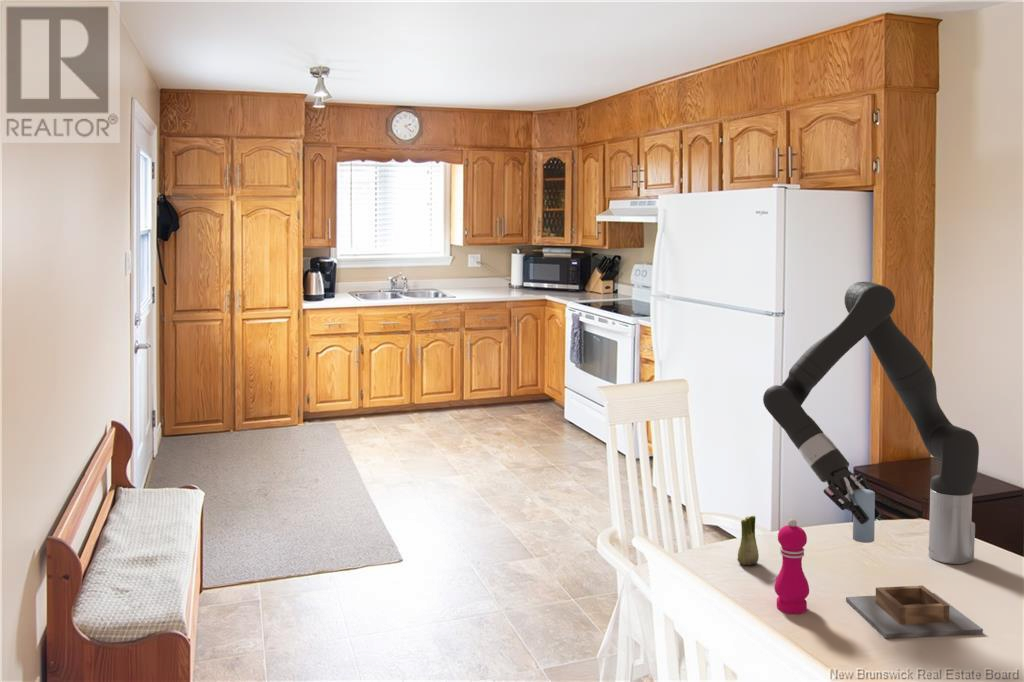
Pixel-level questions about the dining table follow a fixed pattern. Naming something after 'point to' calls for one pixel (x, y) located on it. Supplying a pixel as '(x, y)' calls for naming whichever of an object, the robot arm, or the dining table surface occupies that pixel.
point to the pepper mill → (792, 570)
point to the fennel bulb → (748, 543)
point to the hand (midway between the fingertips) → (871, 519)
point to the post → (867, 504)
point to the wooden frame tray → (911, 613)
